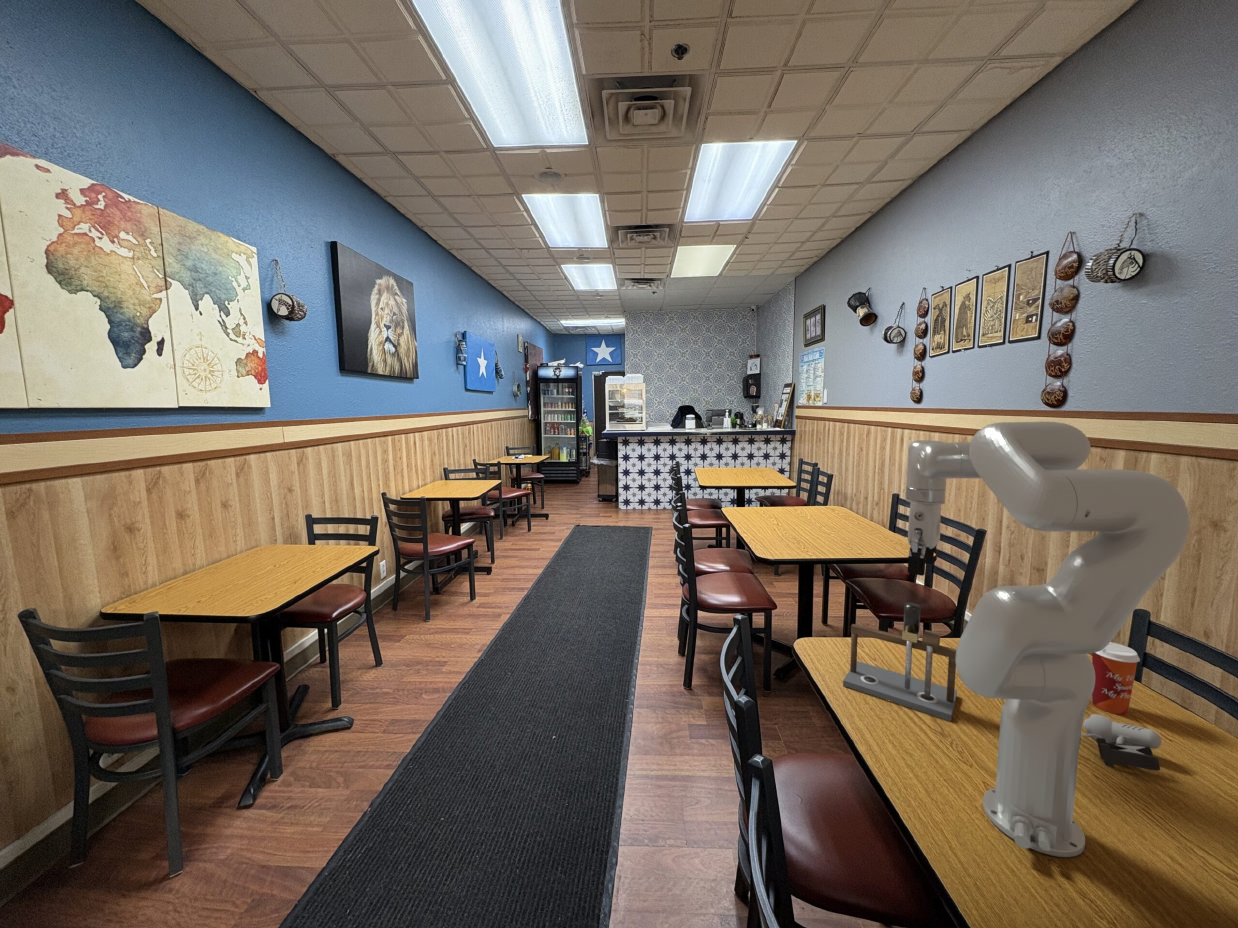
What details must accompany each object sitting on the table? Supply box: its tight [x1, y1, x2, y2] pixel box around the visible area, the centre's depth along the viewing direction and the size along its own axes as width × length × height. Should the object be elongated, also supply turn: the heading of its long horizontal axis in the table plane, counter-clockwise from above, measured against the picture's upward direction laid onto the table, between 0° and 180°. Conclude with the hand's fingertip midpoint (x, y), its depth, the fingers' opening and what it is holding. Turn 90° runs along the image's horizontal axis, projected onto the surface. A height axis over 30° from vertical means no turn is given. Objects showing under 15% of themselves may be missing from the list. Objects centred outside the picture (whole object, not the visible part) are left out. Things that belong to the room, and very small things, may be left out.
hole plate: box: [842, 660, 958, 722], centre depth 116 cm, size 12×22×2 cm, turn 50°
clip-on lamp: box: [1080, 713, 1162, 772], centre depth 96 cm, size 12×6×18 cm
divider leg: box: [901, 602, 922, 690], centre depth 113 cm, size 4×3×20 cm
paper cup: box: [1091, 641, 1141, 716], centre depth 107 cm, size 8×8×14 cm
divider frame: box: [849, 623, 957, 703], centre depth 115 cm, size 4×22×14 cm, turn 50°
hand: (920, 568), depth 110 cm, fingers open, 9 cm apart
